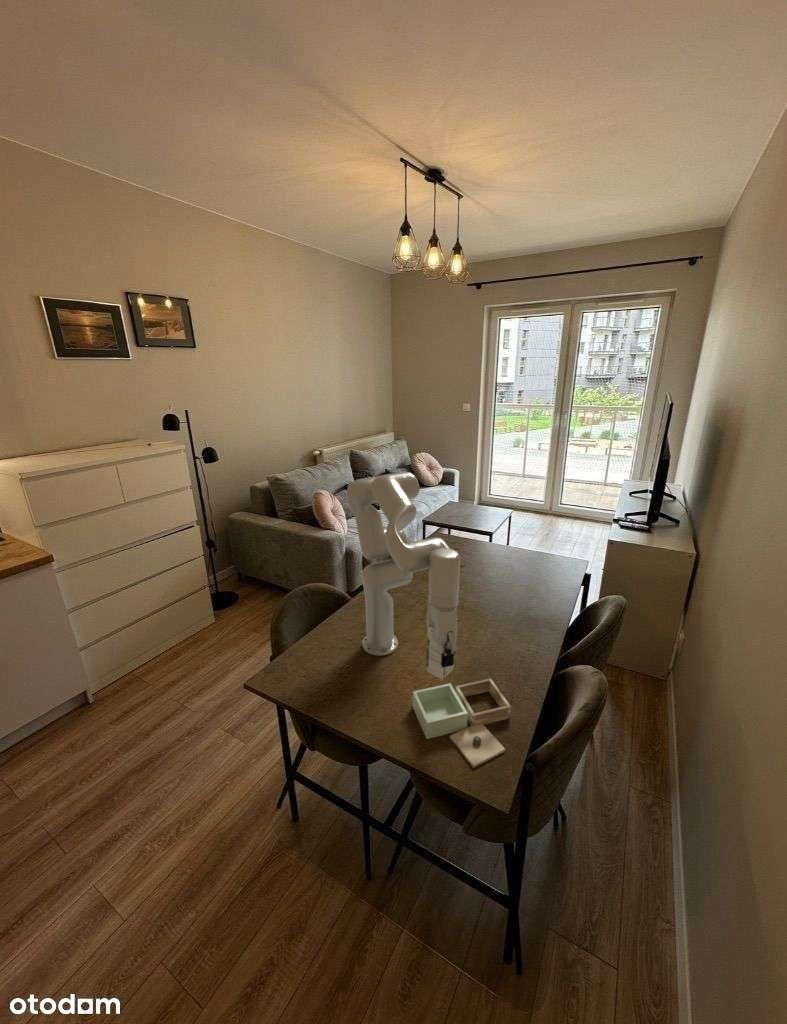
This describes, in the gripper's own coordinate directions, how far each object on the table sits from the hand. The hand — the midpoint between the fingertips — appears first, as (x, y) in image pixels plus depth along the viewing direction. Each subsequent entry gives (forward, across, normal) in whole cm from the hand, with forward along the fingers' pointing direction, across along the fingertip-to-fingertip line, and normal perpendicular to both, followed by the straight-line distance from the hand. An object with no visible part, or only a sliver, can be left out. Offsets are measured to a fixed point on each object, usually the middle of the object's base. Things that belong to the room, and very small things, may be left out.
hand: (441, 655), depth 110 cm
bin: (+21, 0, 0) cm, 21 cm away
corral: (+21, 0, +13) cm, 25 cm away
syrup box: (+5, 0, 0) cm, 5 cm away
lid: (+21, +11, +6) cm, 25 cm away
